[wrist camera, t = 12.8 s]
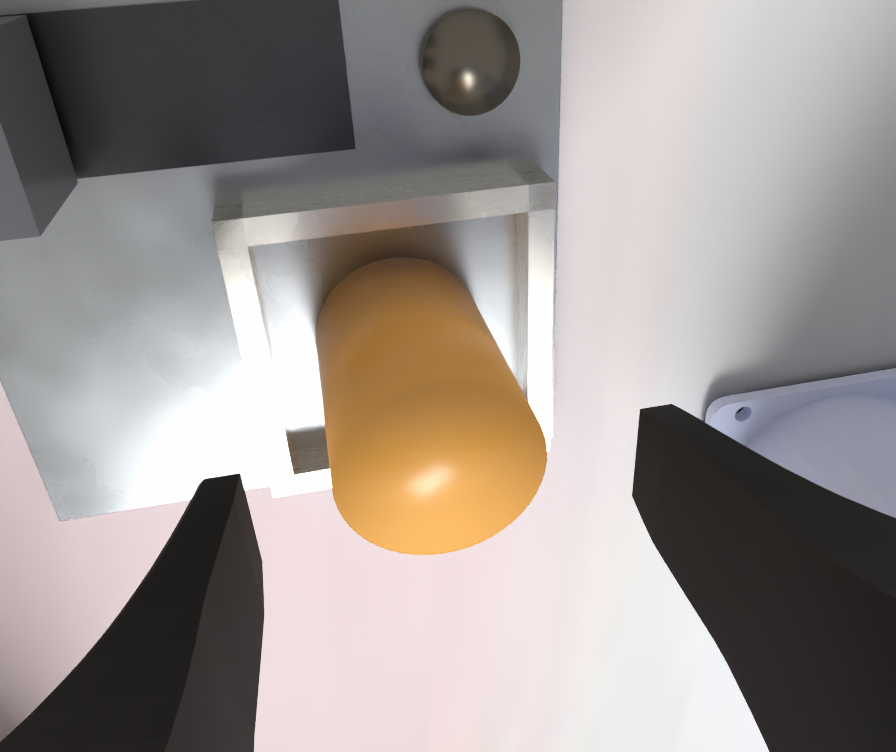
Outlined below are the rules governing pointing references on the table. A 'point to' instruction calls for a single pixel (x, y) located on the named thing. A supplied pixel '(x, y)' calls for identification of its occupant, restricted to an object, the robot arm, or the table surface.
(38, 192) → the block
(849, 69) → the table surface
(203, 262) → the panel
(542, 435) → the cap
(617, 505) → the table surface
